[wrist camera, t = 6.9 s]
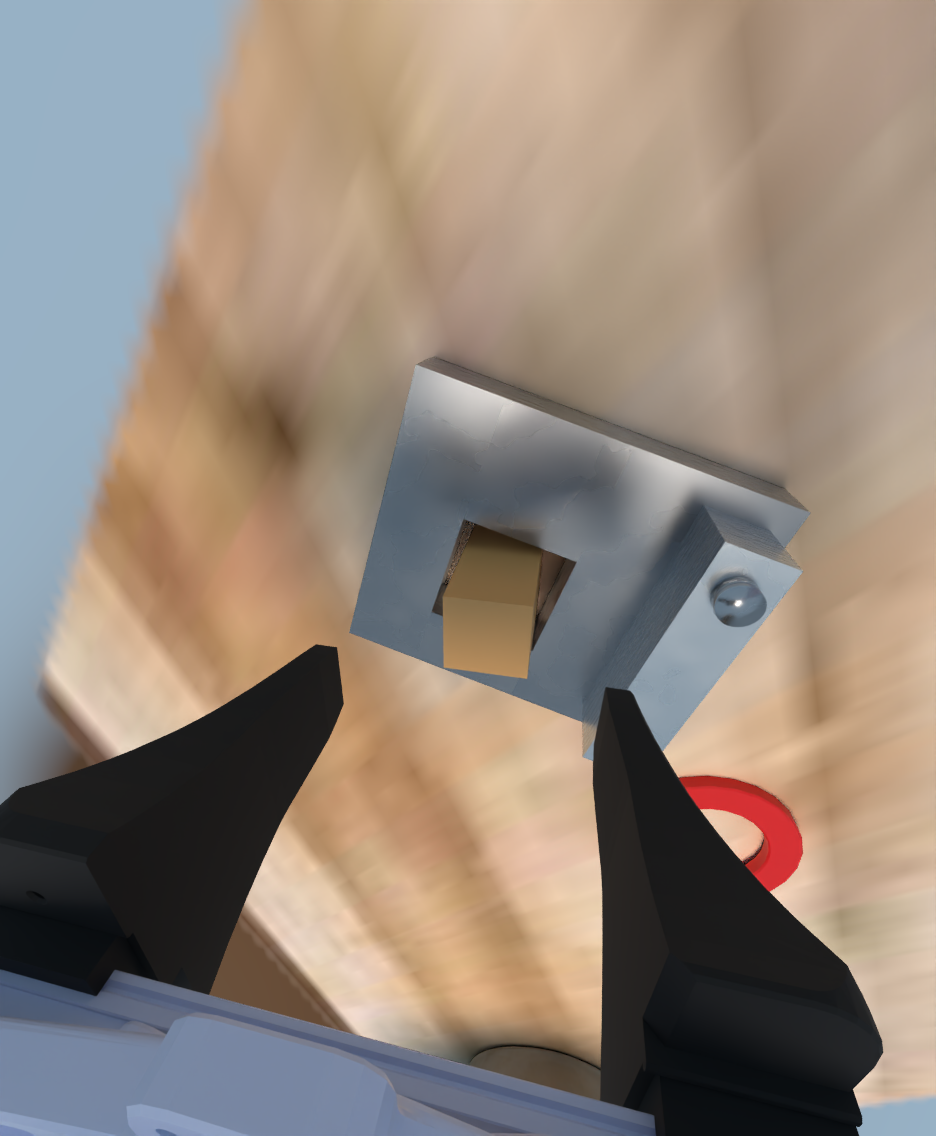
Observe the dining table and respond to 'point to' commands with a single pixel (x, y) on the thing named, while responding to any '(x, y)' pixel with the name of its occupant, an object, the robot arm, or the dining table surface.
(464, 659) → the tan rectangular block
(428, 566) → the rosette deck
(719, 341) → the dining table surface
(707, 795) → the tow hook
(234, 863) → the robot arm
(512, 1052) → the plant pot
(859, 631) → the dining table surface
